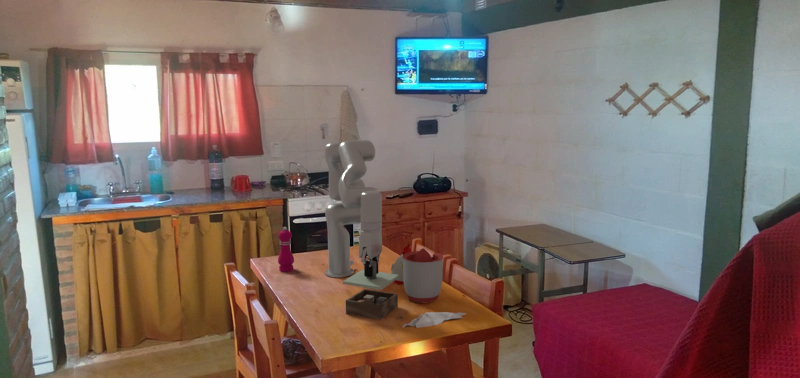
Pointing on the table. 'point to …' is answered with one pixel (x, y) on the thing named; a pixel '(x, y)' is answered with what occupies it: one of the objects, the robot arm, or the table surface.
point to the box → (372, 304)
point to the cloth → (433, 318)
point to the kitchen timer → (399, 266)
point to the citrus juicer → (422, 275)
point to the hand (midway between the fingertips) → (371, 274)
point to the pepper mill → (285, 251)
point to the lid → (371, 279)
